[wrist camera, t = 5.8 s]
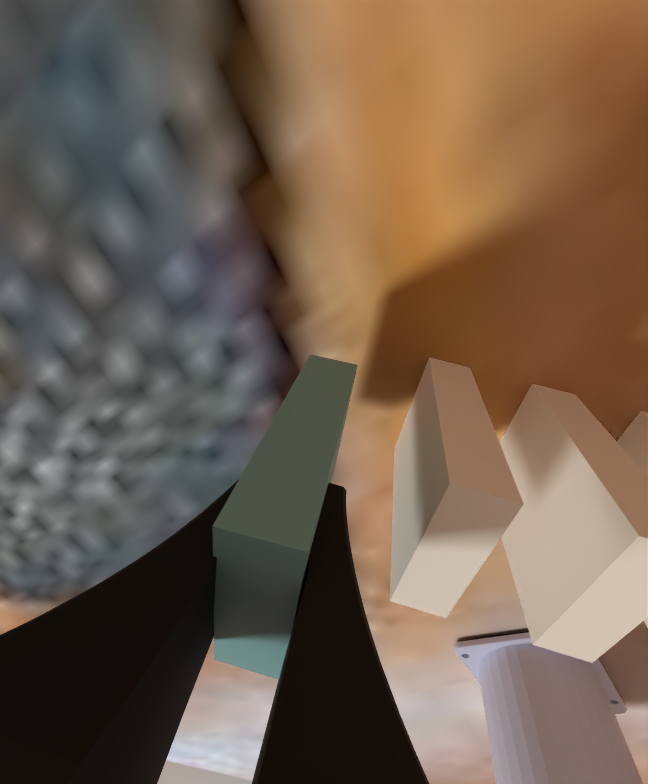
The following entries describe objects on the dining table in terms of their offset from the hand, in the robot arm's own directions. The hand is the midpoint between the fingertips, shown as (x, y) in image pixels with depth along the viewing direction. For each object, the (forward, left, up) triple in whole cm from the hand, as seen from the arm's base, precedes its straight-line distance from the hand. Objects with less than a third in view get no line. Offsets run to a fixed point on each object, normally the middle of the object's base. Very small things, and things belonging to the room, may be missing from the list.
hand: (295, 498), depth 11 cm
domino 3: (-6, -6, -7) cm, 12 cm away
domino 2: (-3, -3, -8) cm, 9 cm away
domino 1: (0, 0, -4) cm, 5 cm away
